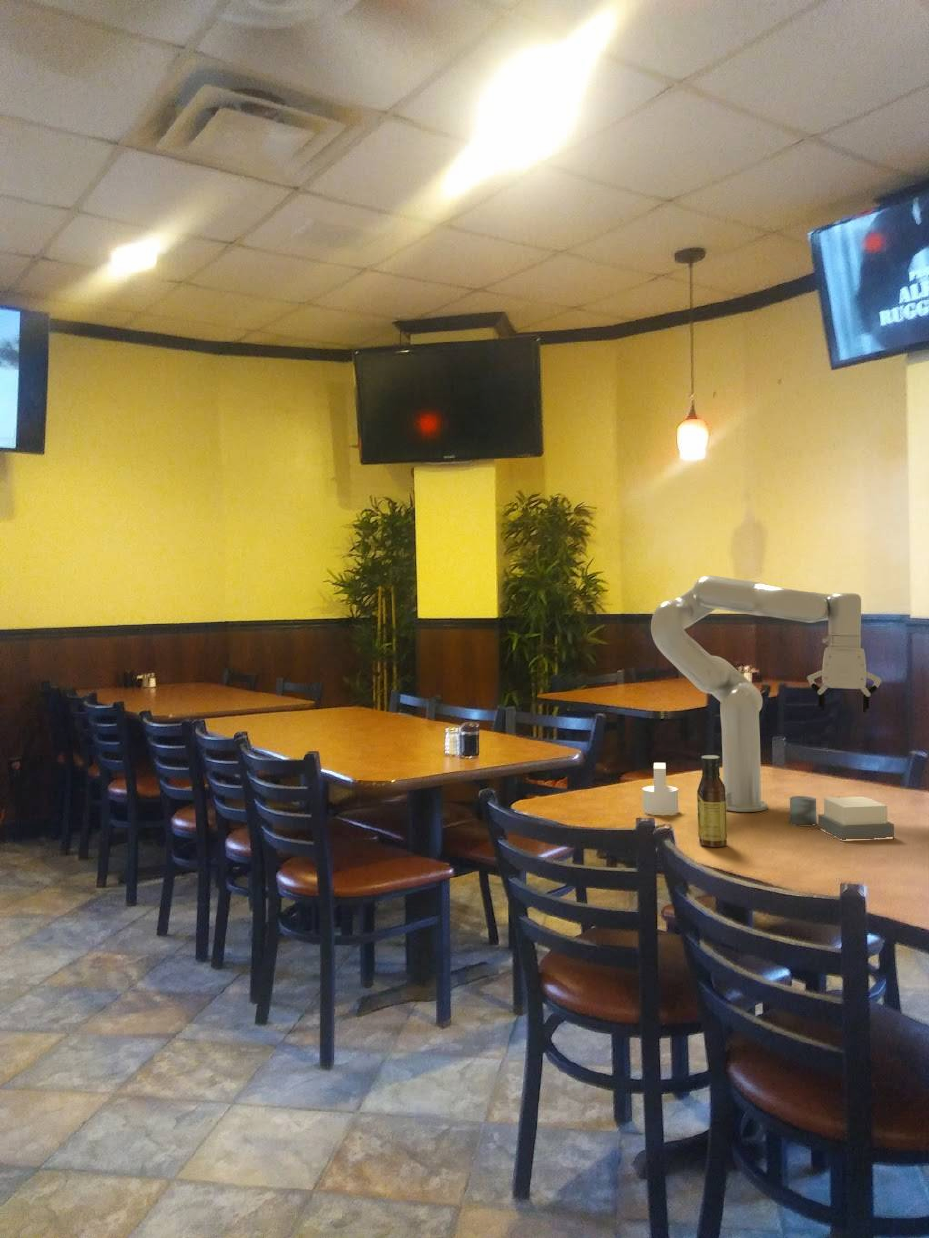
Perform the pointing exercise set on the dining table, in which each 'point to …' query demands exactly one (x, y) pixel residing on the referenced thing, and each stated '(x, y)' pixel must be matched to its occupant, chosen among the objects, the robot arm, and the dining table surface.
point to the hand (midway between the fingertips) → (843, 710)
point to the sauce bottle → (711, 804)
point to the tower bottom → (855, 829)
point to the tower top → (855, 810)
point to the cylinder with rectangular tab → (660, 794)
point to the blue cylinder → (803, 810)
